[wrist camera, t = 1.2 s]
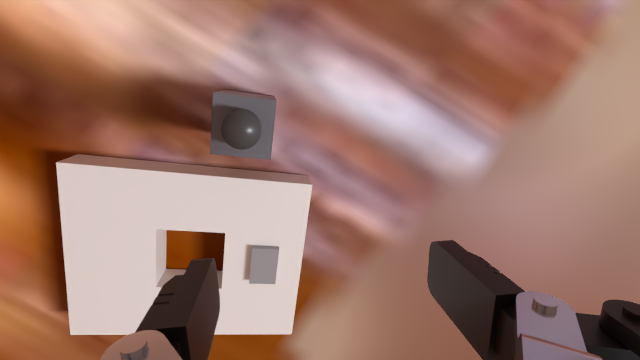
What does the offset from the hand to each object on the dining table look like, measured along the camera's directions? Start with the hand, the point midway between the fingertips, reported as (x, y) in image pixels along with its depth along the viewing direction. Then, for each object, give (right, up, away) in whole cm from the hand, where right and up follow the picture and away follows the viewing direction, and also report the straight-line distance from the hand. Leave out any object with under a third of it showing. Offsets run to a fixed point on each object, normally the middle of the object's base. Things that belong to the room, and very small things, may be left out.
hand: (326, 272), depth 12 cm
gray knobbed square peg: (-7, +9, +17) cm, 20 cm away
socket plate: (-12, -3, +20) cm, 23 cm away
